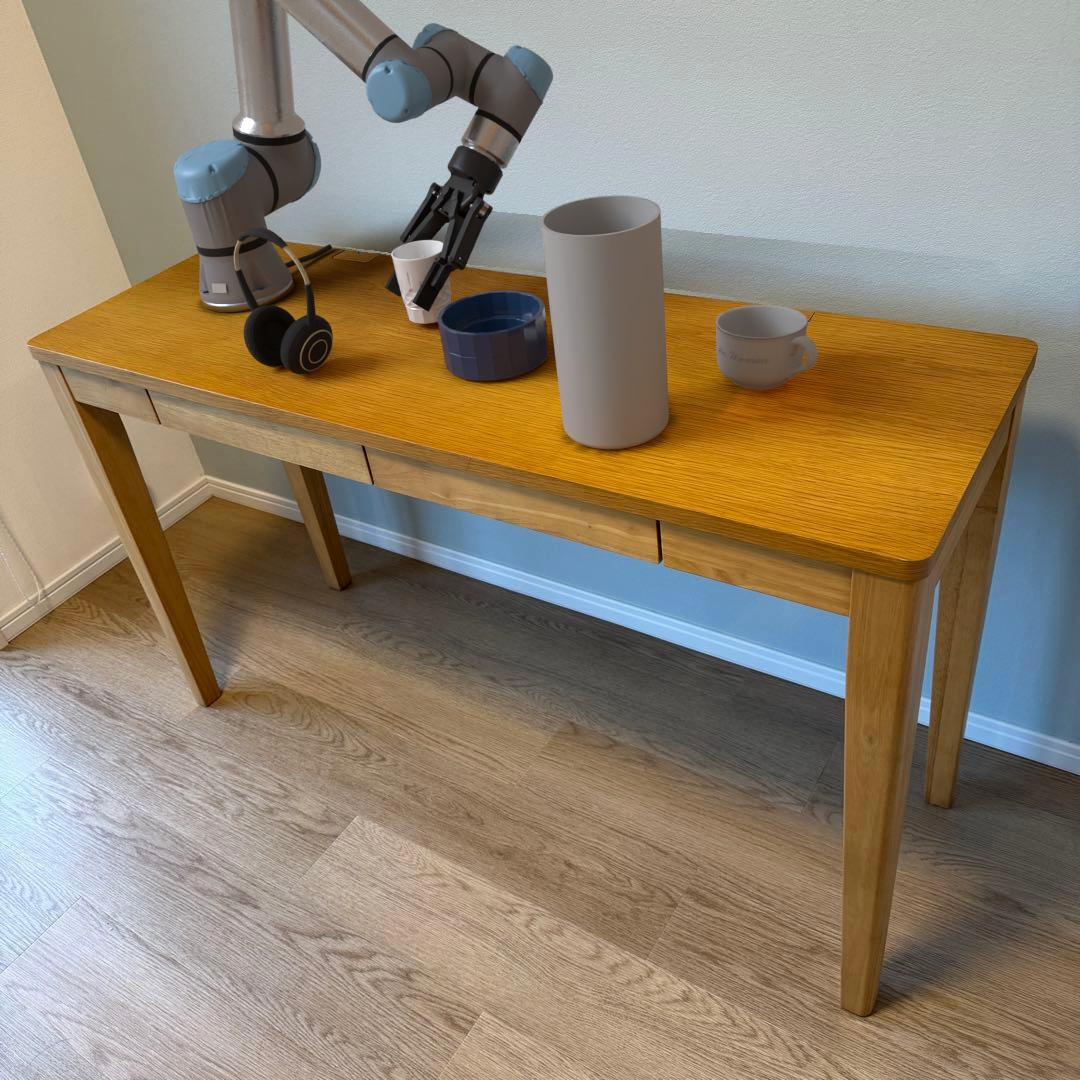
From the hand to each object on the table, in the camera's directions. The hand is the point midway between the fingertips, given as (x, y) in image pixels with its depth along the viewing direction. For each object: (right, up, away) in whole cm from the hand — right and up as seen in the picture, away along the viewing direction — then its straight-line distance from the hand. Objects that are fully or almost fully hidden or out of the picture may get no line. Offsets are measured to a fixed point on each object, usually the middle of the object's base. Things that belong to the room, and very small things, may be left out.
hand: (406, 299), depth 146 cm
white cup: (+3, -2, +4) cm, 5 cm away
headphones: (-15, -11, -4) cm, 19 cm away
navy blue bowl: (+14, -10, -9) cm, 20 cm away
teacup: (+47, -16, -23) cm, 55 cm away
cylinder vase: (+29, -22, -27) cm, 45 cm away
